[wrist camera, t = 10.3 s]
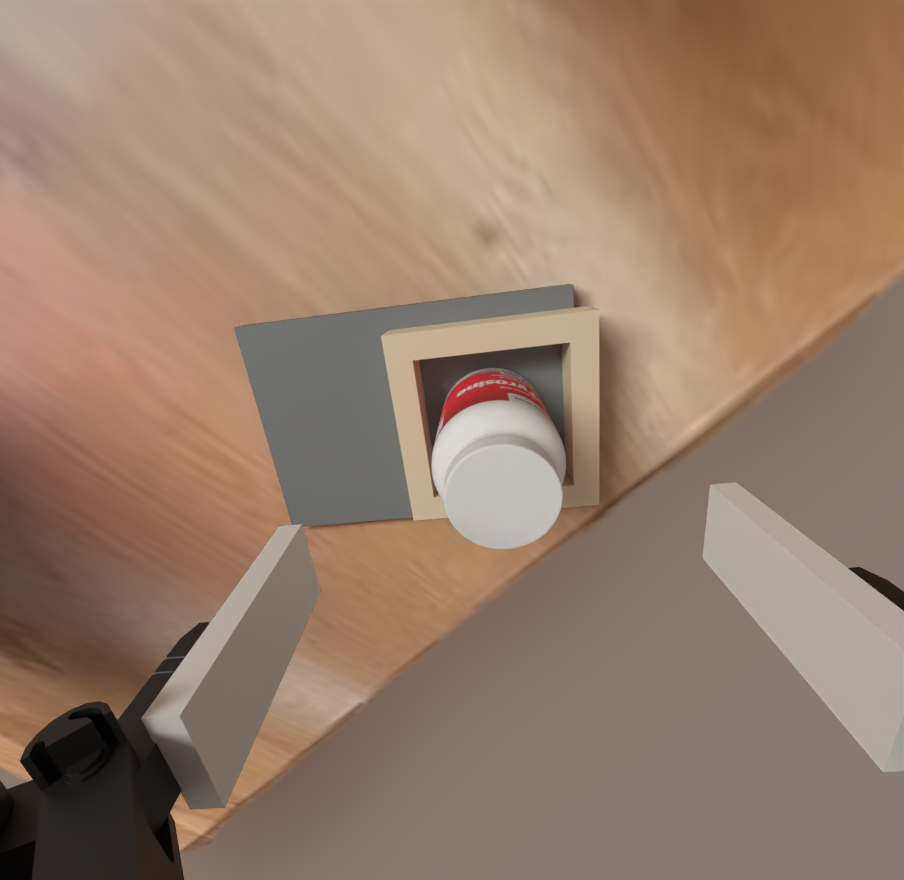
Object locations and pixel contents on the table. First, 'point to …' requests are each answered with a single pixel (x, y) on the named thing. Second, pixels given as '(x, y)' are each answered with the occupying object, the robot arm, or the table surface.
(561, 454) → the pill bottle
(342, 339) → the socket board
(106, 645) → the table surface
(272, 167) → the table surface
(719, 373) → the table surface
